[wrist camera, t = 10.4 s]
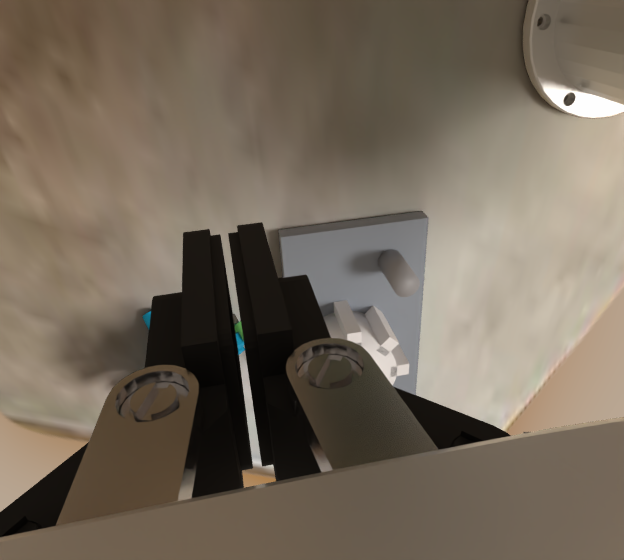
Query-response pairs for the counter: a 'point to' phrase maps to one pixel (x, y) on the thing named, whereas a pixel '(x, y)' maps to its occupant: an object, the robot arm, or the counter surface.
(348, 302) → the carrier plate
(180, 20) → the counter surface
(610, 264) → the counter surface
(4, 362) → the counter surface
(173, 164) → the counter surface
